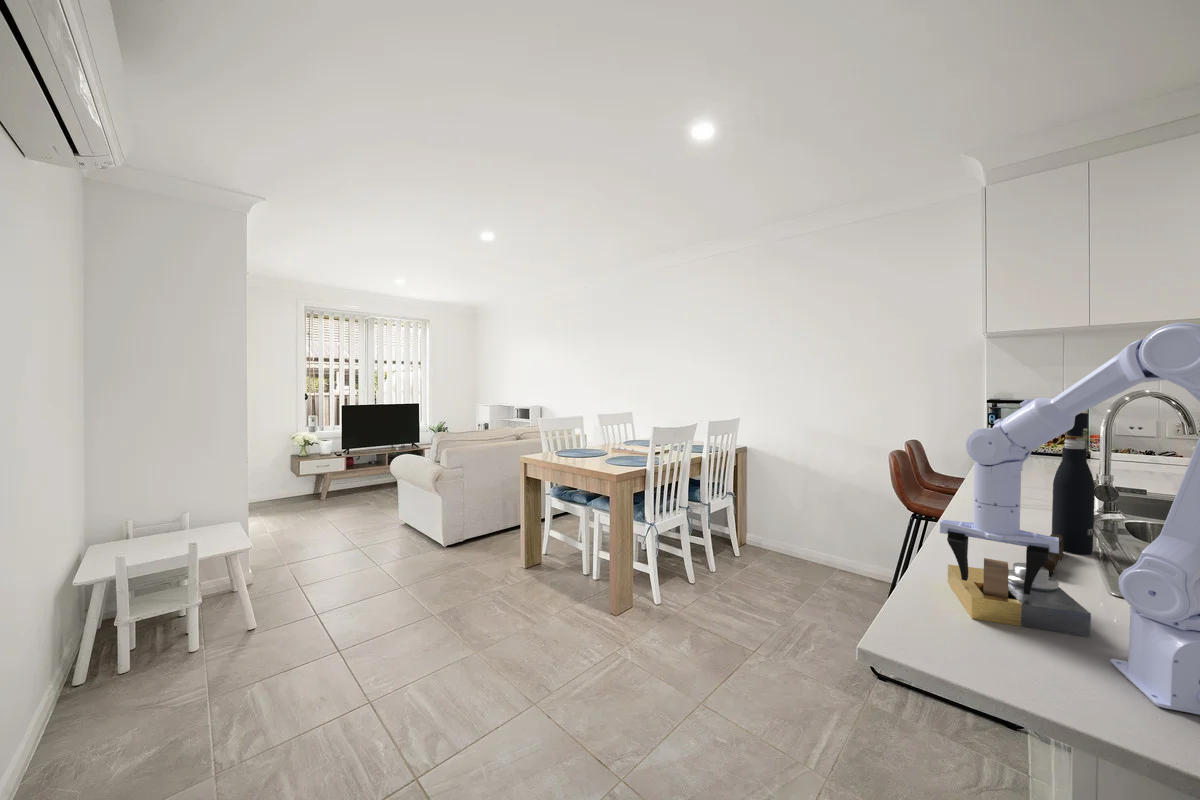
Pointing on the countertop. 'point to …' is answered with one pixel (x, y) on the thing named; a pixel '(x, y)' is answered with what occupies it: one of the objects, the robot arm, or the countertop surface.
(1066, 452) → the wine bottle
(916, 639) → the countertop surface
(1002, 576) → the wedge
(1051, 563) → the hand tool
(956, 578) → the slotted base block
